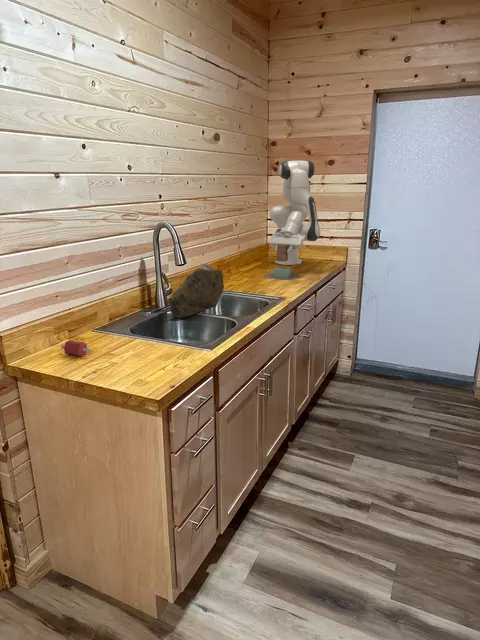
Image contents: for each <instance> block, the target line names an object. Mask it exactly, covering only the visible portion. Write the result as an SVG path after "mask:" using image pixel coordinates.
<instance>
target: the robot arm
mask: <svg viewBox="0 0 480 640" xmlns="http://www.w3.org/2000/svg"><path fill="white" fill-rule="evenodd" d="M315 168H316V167H315V163H314V162H313V161H310V160H289V161H288V160H285V161H284V160H283V161H281V162H280V164H279V167H278V174H279V177H280V178H281V179H283V185H282V187H283V188H282V198H283V200H285V201H287V202H289V203H290V204H289V205H276V206H273V207H272V208H271V209H270V211H269V218H270V220H271V221H272V222H273V223H275V225H276V226H277V227H278V228H277V229H275V230H274V233H273V234H272V235H271V237H270V238H269V241H268V244H269V246H270V247H271V248H272V247H273V248H275V250H274V251H275V254H277V245H288V249H287V250H286V253H288V260H287V261H285V262H283V261H277V259H275V260H274V263H275V264H278V265H284V266H285V265H287V266H292V265H301V264H302V263H303V259H301V258H300V252H299V250H298V249H300V250H301V249H302V247H303V244H304V242H306V241H307V242H317V240H319V238H320V236H321V229H320V224H319V219H318V213H317V207H316V202H315V199H314V197H313V196H311V192H310V180H309V179H311V178H312V177H314V175H315ZM307 219H308V224H304V223H303V222H305V221H306V220H307Z"/></svg>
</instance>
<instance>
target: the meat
mask: <svg viewBox="0 0 480 640" xmlns="http://www.w3.org/2000/svg"><path fill="white" fill-rule="evenodd" d="M60 349H63V351H64V354H66V355H71V356H72V355H73V356H74V355H75V356H78V357H80V358H83V357H85V356H86V355H87V354H90V353H91V352H92V349H91V348H90V347H88V343H86V342H84V341H74V340H71V339H69V340H67V341H65V343H61V344H60Z"/></svg>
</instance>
